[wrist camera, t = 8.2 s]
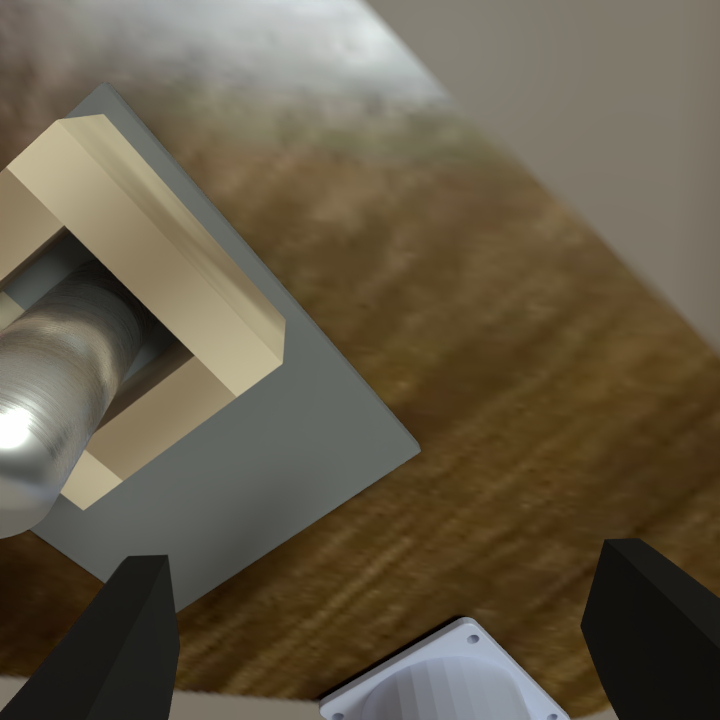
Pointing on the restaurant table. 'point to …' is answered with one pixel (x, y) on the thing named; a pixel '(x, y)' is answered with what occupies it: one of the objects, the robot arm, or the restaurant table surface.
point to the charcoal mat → (225, 427)
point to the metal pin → (61, 384)
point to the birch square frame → (138, 290)
